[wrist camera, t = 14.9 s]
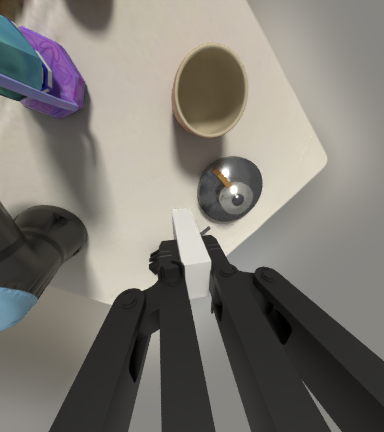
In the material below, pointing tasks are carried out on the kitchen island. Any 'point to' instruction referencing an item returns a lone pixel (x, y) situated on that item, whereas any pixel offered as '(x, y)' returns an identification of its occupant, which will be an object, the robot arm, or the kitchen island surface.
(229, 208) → the cover
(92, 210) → the kitchen island surface
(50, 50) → the lantern
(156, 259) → the end cap
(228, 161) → the turntable
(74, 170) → the kitchen island surface
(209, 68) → the planter
